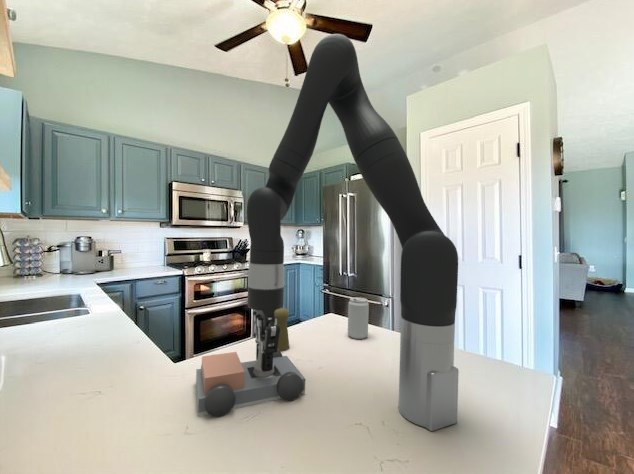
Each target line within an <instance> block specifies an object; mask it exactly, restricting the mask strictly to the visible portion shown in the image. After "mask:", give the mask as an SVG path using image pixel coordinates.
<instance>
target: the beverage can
mask: <svg viewBox="0 0 634 474" xmlns="http://www.w3.org/2000/svg"><path fill="white" fill-rule="evenodd" d="M368 301H369V300H368V299H367V298H366V297H357V296H356V297H350V298H349V301H348V308H347V309H348V310H347V311H348V312H347V315H348V316H347V336H349V338H350V339H354V340H363V339H366V338H367V337H368V335H369V312H370V311H369V310H370V309H369V306H370V303H369V302H368Z"/></svg>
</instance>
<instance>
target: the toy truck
mask: <svg viewBox="0 0 634 474" xmlns="http://www.w3.org/2000/svg"><path fill="white" fill-rule="evenodd" d="M282 353H283V352H280V351H279V350H278V349H277V352H275V353H273V364H274V368H273V369H274V373H273V374H272V375H271V376H269V377H265V378H261V377H257V376H255V374H254V373H253V371H254V365H255V363H256V361H257V360H256V359H255V360H249V361H243V362H241V360H240V357H239V355H238V352H237V351H233V352H225V353H219V354H218V353H217V354H209V355H202V356H201V366H200V368H198V369H195V370H196V373H195V374H196V375H195V387H196V389H195V390H196V401H197V403H196V404H197V416H198V417H201V416H206V415H209V416H211V417H212V418H221V417H225V416H226V415H227V414H229V413H230V412H231V411H232V410H234V409H235V410H236V409H239V408H243V407H249V406H252V405H257V404H263V403H266V402H271V401H276V400H280V399H281V400H283V401H285V402H287V403H289V402H294V401H295V400H297V399H299V398H300V396H301V395H305V394H306V378H305V376H304V375H303V373H301V371H300V370H299V369H298V368H297V366H296V365H295V364H294V363H293V362H292V360H291V359H290V358H289V357H288V355H283V354H282Z"/></svg>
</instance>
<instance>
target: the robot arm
mask: <svg viewBox="0 0 634 474" xmlns="http://www.w3.org/2000/svg"><path fill="white" fill-rule="evenodd" d="M360 72H361V71H360V68H359V62H358V56H357V51H356V49H355V46H354V44H353V42H352V41H351V39H350V38H349V37H348V36H346V35H344V34H342V33H332V34H329V35H327V36H324V37H323V38H321V40H319V42H318V43H317V44H316V46H315V47H314V49H313V51H312V53H311V56H310V58H309V62H308V65H307V69H306V73H305V75H304V79H303V82H302V85H301V88H300V91H299V93H298V96H297V100H296V103H295V106H294V109H293V112H292V114H291V117H290V119H289V122H288V124H287V127H286V130H285V131H284V134H283V136H282V139H281V140H280V142H279V144H278V146H277V149H276V151H275V152H274V154H273V157H272V159H271V161H270V164H269V167H268V173H269V176H268V179H267V182H266V185H265V186H264V187H263V186H262V187H258V188H256V189H254V191H252V192H251V193H250V195H249V198H248V200H247V204H246V205H247V206H246V217H247V218H246V219H247V228H248V234H249V239H250V245H249V246H250V247H249V248H250V250H249V267H248V275H247V303H246V304H247V307H248V308H249V309H251V310H253V311H252V315H253V316H252V320H253V323H252V324H253V335H252V336H253V338H254V342H255V344H256V346H255V347H256V348H255V349H256V352H255V355H256V356H255V360H257V359H258V353H259V349H258V346H259V343H258V342H257V339H258V338H259V341H261V352H262V358H261V369H262V371H263V372H265V371H271V370H272V369H273V353H275V352H277V348H278V341H279V333H280V326H279V325H277V318H276V317H275V313H274V312H275V310H277V309H280V308H284V303H285V302H284V301H285V300H284V299H285V267H284V266H285V264H284V261H285V260H284V259H285V244H284V239H283V237H282V234H281V231H282V230H281V229H282V228H281V225H282V223H281V222H282V220H283V219H284V218H285V216H286V215H287V213H288V212H289V210H290V208H291V205H292V203H293V199H294V196H295V194H296V190H297V187H298V184H299V182H300V180H301V179H302V177H303V174H304V173H305V170H307V169H306V168H307V167H308V165H309V163H310V160H311V158H312V156H313V154H314V151H315V148H316V145H317V141H318V138H319V133H320V129H321V125H322V121H323V118H324V114H325V111H326V108H327V106H328V105H330V107H331V108H332V110H333V112H334V113H335V115H336V117H337V119H338V120H339V122H340V124H341V126H342V129H343V132H344V136H345V139H346V142H347V145H348V147H349V150H350V152H351V155H352V157H353V158H352V159H353V160H354V162H355V164H356V167H357V168H358V170H359V172H360V176H361V177H362V179H363V180H364V182H365V184H366V186H367V187H368V189H369V191H370V192H371V194H372V195H373V197H374V198H375V199H376V202H377V203H378V204H379V205H380V206H381V208H382V209H383V211H384V212H385V214H386V215H387V216H388V218H389V219H390V222H391V225H392V226H393V228H394V230H395V233H396V235H397V238H398V239H399V242H400V243H399V244H400V246H401V249H402V250H401V254H400V255H401V257H400V281H399V282H400V286H399V287H400V291H399V293H400V297H399V301H400V308H401V309H400V338H399V373H398V374H399V375H398V377H399V378H398V411H399V413H400V414H401V416H403V417H404V418H405V419H406V420H408V421H409V422H411V423H412V424H415V425H418V426H421V427H424V428H426V429H428V430H429V431H430V432H433V431H437V430H440V429H442V428H445V427H448V426H452V425H455V424H457V423H458V402H459V373H460V372H459V368H457V367H456V366H454V365H455V364H454V361H455V333H456V331H455V329H456V313H457V312H456V311H457V303H458V284H459V283H458V280H459V279H458V278H459V254H458V251H457V247H456V245H455V244H454V242H453V241H452V240H451V239H450V238H449V237H448V236H446V235H445V233H444V232H443V231H442V229H441V227H440V226H439V225H438V222H437V221H436V220H435V218H434V217H433V215H432V214H431V212H430V210H429V208H428V206H427V205H426V203H425V201H424V198H423V195H422V192H421V189H420V186H419V183H418V180H417V177H416V175H415V171H414V169H413V167H412V164H411V162H410V160H409V157H408V155H407V153H406V151H405V149H404V147H403V145H402V143H401V141H400V140H399V138H398V136H397V134H396V133H395V131H394V130H393V128H392V127H391V125H390V124H389V123H387V121H386V120H385V119H384V118H383V117H382V116H381V114H379V112H378V111H376V109H375V107H374V106H373V104H372V103H371V101H370V99H369V97H368V94H367V91H366V89H365V86H364V84H363V82H362V78H361V73H360ZM262 335H263V336H264V335H265V337H263V336H262ZM269 344H271V346H268V345H269Z"/></svg>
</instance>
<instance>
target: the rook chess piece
mask: <svg viewBox="0 0 634 474" xmlns="http://www.w3.org/2000/svg"><path fill="white" fill-rule="evenodd" d="M262 336H263V335H262ZM263 337H265V335H264V336H263ZM257 342H258V343H259V346H258V349H259V353H258V359H257V361H256V363H255V365H254V371H253V373H254V374H255V376H257V377H261V378H265V377H269V376H271V375H272V374H273V373H274V369H272V370H271V371H265V372H263V371H262V369H261V358H262V352H261V341H259V338H258V339H257ZM258 343H257V344H258ZM268 346H270V344H269V345H268ZM273 368H274V364H273Z"/></svg>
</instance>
